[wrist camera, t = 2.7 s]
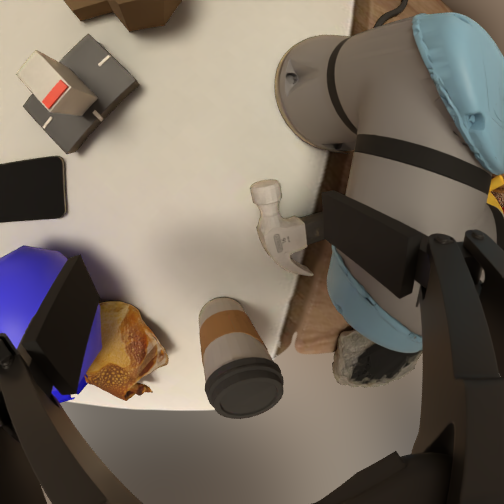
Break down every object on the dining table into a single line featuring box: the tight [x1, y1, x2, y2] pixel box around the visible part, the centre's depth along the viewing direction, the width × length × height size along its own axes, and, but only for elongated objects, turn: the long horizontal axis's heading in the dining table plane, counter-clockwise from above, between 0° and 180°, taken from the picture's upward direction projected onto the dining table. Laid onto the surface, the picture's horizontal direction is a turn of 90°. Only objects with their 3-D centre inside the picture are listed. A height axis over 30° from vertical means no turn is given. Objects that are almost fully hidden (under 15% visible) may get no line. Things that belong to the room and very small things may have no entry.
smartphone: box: [0, 156, 66, 223], centre depth 23 cm, size 7×1×15 cm
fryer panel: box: [23, 34, 139, 154], centre depth 21 cm, size 10×10×3 cm
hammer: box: [250, 180, 324, 276], centre depth 36 cm, size 13×3×30 cm
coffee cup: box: [199, 297, 283, 419], centre depth 32 cm, size 8×8×15 cm
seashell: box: [84, 301, 169, 401], centre depth 33 cm, size 17×8×15 cm
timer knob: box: [16, 50, 98, 116], centre depth 16 cm, size 6×2×8 cm, turn 40°
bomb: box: [0, 246, 102, 403], centre depth 23 cm, size 16×15×18 cm
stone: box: [332, 330, 423, 387], centre depth 46 cm, size 15×28×10 cm
